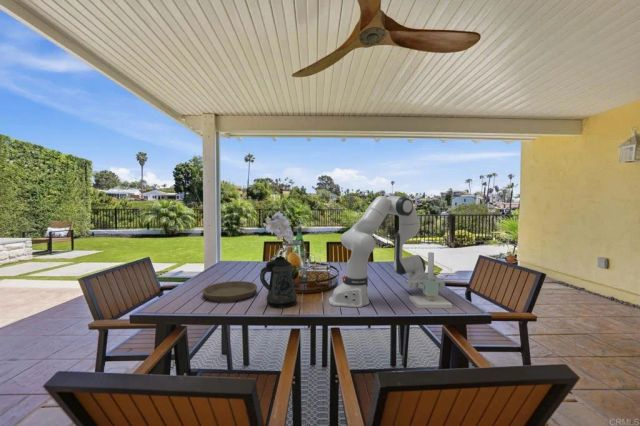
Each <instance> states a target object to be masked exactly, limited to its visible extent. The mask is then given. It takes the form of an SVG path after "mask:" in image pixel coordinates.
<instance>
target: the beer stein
mask: <svg viewBox="0 0 640 426" xmlns="http://www.w3.org/2000/svg"><path fill="white" fill-rule="evenodd" d="M274 258H275V259H273V260H271V261H268V262H267V263H266V264H265V266H264V267H263V268H262V269H261V270H260V273H259V278H260V279H259V280H260V282H261V284H262V285H263V287H264V288H265V289H266V290H268V291H267V295H266V299H265V300H266V303H267V306H269V307H271V308H274V309H285V307H286V308H291V307H293V306H295V305H296V304H297V298H298V295H297V292H296V290H295V286H294V280H293V274H292V269H293V264H292V263H291V261H290V262H289V261H288V260H287V259H286V257H284V256H276V257H274ZM266 273H270V277H269V283H268V282H267V280H266V277H265V276H266Z"/></svg>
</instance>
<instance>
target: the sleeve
mask: <svg viewBox="0 0 640 426" xmlns="http://www.w3.org/2000/svg"><path fill="white" fill-rule="evenodd" d="M438 283H439V281H438V280H436V279H434V278H433V281H428V278H423V285H425V289H422V294H423V295H424V296H439V289H438Z"/></svg>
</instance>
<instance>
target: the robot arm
mask: <svg viewBox="0 0 640 426" xmlns="http://www.w3.org/2000/svg"><path fill="white" fill-rule="evenodd" d="M389 214H390V215H392V216H393V215H394V216H397V217H398V222H399V229H398V231H397V233H396V234H395V236H394V238H395V239H394V257H393V269H394V272H395V273H396V274H397V275H400V276H402V275H405V274H406V275H407V280H405V283H406V284H407V286H408V287H409V288H411V289H422V290H423V289H425V285H423V278H428V273H426V268H427V267H426V266H427V265H426V262H425V260H424V258H423V257H422V256H421V255H419V254H415V255H409V256H405V257H403V247H404V244H405V243H406V242H408V241H409V240H411V239H412V238H414V237H415V236H416V235H417V234H418V233H419V231H420V223H419V217H418V212H417V209H416V207H415V206H414V204H413V201H412V200H411V199H410V198H409V197H406V196H398V195H386V196H384V195H379V196H376V198H375V199H374V200H372V202H371V203H370V204H369V205H368V207H367V208H366V210H365V211H364V213H363V214H362V216H361V217H360V219H359V220H358V221H357V222H356V223H355V224H354V225H352V226H351V228H349V229H348V230H346V231H345V232H343V233H342V235H341V237H340V243H341V245H342V246H343V247H344V248H345V249H347V250H350V251H351V254H350V257H349V259H348V260H347V262H346V275H341V279H342V283H341V284H339V285H338V286H336V287H335V288H334V289H333V292H332V295H331V296H330V297H329V298H328V303H329V304H330V306H334V307H344V308H345V307H348V308H362V307H363V306H367V305H369V304H370V299H369V293H368V285H369V278H368V261H369V258H370V254H371V253H372V252H373V251H374V250H375V248H376V239H375V238H374V237H373V236H372V235H371V234H373V233H374V232H376V231H377V230H379V227H380V226H381V225H382V223H383V221H384V220H385V218H386V216H387V215H389ZM434 279H436V280H438V281H439V283H438V290H439V289H444V288H445V287H446V283H445V280H443V279H442V278H440V277H438V276H437V275H435V274H434Z"/></svg>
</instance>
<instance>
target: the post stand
mask: <svg viewBox="0 0 640 426" xmlns="http://www.w3.org/2000/svg"><path fill="white" fill-rule="evenodd" d="M434 259H435V253H434V252H431V251H430V252H428V253H427V274H428V281H433V278H434V275H435V274H434V271H435V270H434V268H435V264H434V263H435V262H434V261H435V260H434ZM409 301H411V302H412V304H413V305H414V306H415V307H416V308H417V309H453V303H451V302H450V301H448V300H447V299H445V298H444V297H443V296H442V295H438V296H426V295H410V296H409Z"/></svg>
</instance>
